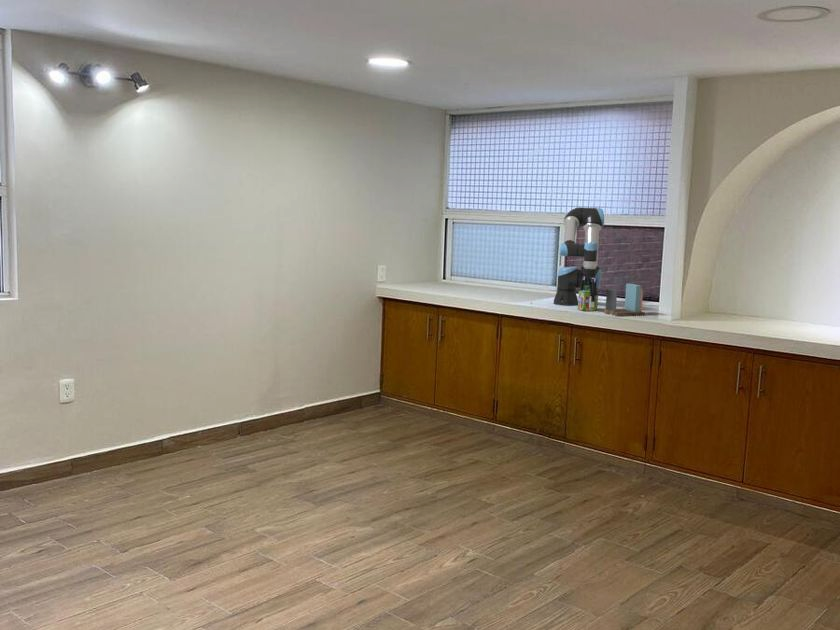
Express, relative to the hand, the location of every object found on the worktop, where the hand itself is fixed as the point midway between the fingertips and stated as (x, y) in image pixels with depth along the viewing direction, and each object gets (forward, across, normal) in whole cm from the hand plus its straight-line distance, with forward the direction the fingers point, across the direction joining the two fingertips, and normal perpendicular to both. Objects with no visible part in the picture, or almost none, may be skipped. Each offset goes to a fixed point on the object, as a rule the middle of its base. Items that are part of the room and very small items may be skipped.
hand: (587, 305), depth 478 cm
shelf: (+3, +17, +14) cm, 22 cm away
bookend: (+1, +17, +6) cm, 18 cm away
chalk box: (+3, 0, 0) cm, 3 cm away
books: (+1, +17, +20) cm, 27 cm away
